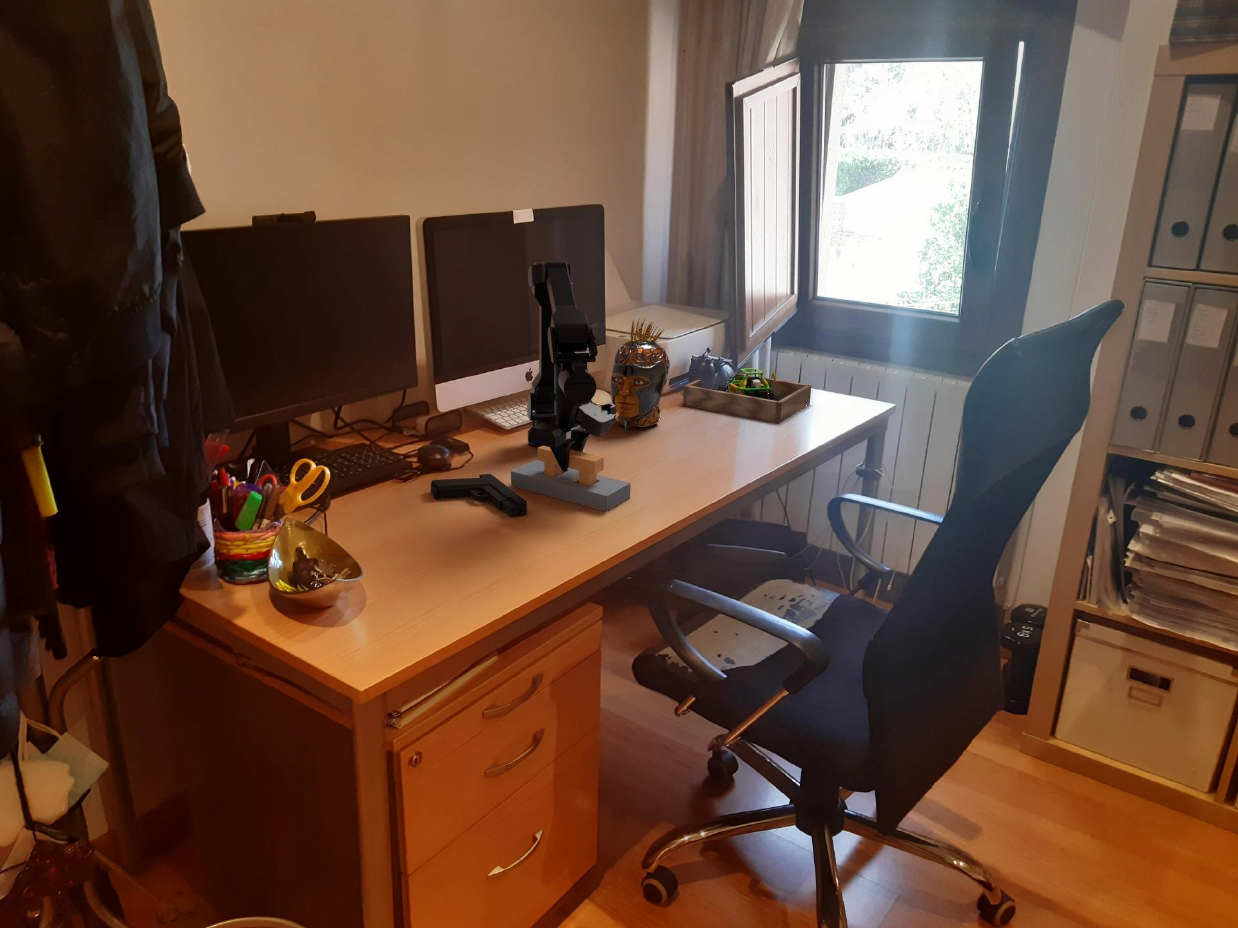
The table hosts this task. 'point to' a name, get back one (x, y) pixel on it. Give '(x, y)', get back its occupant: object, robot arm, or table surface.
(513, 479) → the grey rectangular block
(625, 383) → the mask
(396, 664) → the table surface
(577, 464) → the wooden arch block
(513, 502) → the handgun
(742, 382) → the motor vehicle
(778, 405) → the tray
